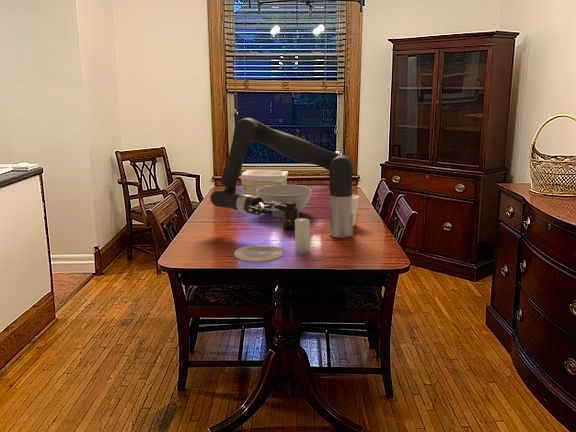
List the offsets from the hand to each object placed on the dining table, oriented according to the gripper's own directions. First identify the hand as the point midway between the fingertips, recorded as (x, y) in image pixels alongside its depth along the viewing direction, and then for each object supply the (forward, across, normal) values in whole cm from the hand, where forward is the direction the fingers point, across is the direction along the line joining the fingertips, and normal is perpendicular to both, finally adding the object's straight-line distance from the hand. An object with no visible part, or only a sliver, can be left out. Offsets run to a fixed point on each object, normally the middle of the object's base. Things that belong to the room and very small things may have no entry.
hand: (279, 210), depth 216 cm
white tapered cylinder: (+12, 0, +14) cm, 18 cm away
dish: (+2, -14, +14) cm, 20 cm away
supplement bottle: (-12, +21, +14) cm, 28 cm away
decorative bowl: (-32, +39, +14) cm, 52 cm away
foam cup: (+4, +42, +14) cm, 44 cm away
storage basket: (-63, +59, +15) cm, 88 cm away
